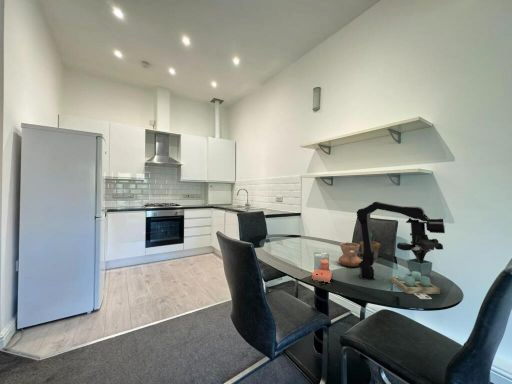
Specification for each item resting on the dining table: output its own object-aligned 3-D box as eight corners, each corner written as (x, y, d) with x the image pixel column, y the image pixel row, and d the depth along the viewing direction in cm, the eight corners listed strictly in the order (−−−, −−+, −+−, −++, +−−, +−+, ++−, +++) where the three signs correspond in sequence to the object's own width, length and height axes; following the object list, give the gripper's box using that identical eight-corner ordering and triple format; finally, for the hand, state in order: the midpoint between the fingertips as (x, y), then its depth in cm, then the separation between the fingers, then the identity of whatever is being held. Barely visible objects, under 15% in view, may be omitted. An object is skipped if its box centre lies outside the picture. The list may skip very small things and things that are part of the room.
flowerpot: (355, 254, 174) (354, 216, 175) (371, 253, 177) (370, 215, 177) (368, 259, 160) (366, 218, 161) (385, 258, 163) (384, 217, 163)
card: (420, 298, 101) (420, 297, 101) (413, 294, 106) (413, 293, 106) (432, 299, 100) (432, 298, 100) (424, 294, 105) (424, 293, 105)
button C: (414, 281, 114) (414, 273, 114) (410, 278, 118) (409, 271, 118) (422, 281, 114) (422, 273, 114) (418, 278, 118) (417, 271, 118)
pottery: (329, 284, 120) (329, 266, 120) (311, 281, 124) (311, 264, 124) (334, 273, 136) (333, 257, 136) (318, 271, 140) (317, 255, 140)
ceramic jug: (365, 269, 140) (364, 247, 141) (340, 268, 143) (340, 246, 144) (358, 261, 158) (357, 241, 158) (336, 260, 161) (336, 241, 161)
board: (406, 293, 106) (406, 288, 106) (390, 281, 121) (390, 276, 121) (440, 293, 105) (439, 288, 105) (419, 281, 120) (419, 276, 120)
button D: (423, 287, 107) (423, 279, 108) (418, 284, 111) (418, 276, 111) (432, 287, 107) (432, 279, 107) (426, 284, 111) (426, 276, 111)
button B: (408, 287, 108) (407, 278, 108) (403, 283, 112) (403, 275, 112) (416, 287, 108) (416, 279, 108) (411, 283, 112) (411, 275, 112)
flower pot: (421, 280, 121) (420, 263, 122) (406, 274, 130) (406, 259, 130) (433, 278, 124) (432, 262, 124) (418, 273, 132) (417, 257, 132)
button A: (400, 285, 115) (400, 277, 115) (396, 282, 119) (396, 274, 119) (408, 285, 115) (408, 277, 115) (404, 282, 119) (403, 274, 119)
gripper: (408, 235, 104) (410, 268, 104) (450, 233, 102) (453, 268, 102) (395, 231, 115) (397, 262, 115) (433, 230, 113) (436, 261, 113)
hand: (420, 263), depth 111 cm, fingers closed
